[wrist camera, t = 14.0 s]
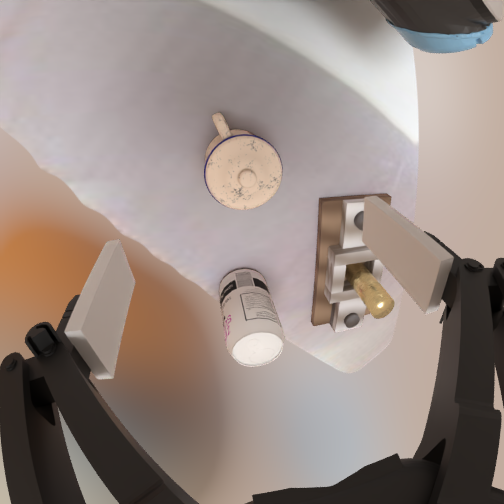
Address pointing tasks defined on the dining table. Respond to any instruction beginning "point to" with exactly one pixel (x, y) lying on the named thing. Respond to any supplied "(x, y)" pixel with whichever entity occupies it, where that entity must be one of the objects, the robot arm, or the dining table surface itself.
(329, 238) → the pin insertion fixture
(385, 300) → the brass pin
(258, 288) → the supplement can
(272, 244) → the dining table surface
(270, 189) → the teacup with lid
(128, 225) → the dining table surface
